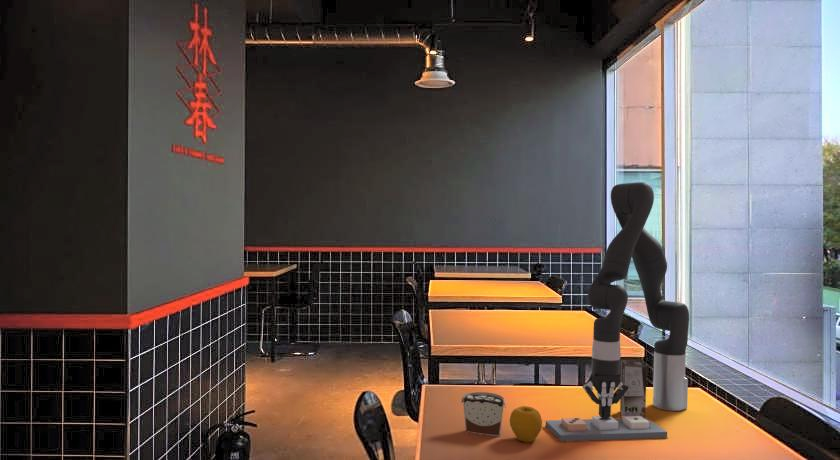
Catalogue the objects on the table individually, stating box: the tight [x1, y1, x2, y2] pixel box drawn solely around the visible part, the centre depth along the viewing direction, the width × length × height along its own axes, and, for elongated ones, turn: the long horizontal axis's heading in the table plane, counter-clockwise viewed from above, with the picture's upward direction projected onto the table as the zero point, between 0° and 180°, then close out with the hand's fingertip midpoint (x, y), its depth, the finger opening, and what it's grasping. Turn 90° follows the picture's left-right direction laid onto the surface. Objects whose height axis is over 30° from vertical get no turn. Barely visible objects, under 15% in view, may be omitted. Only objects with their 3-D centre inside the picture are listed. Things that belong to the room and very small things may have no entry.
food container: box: [460, 391, 507, 438], centre depth 172 cm, size 12×6×10 cm, turn 71°
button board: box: [545, 417, 668, 442], centre depth 172 cm, size 30×12×2 cm, turn 98°
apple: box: [509, 405, 543, 443], centre depth 165 cm, size 9×8×9 cm
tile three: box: [561, 417, 587, 431], centre depth 171 cm, size 5×5×3 cm
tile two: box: [591, 415, 618, 430], centre depth 172 cm, size 5×5×3 cm
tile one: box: [622, 416, 649, 429], centre depth 173 cm, size 5×5×3 cm
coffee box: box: [619, 359, 648, 418], centre depth 186 cm, size 9×6×16 cm
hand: (604, 418), depth 172 cm, fingers closed
